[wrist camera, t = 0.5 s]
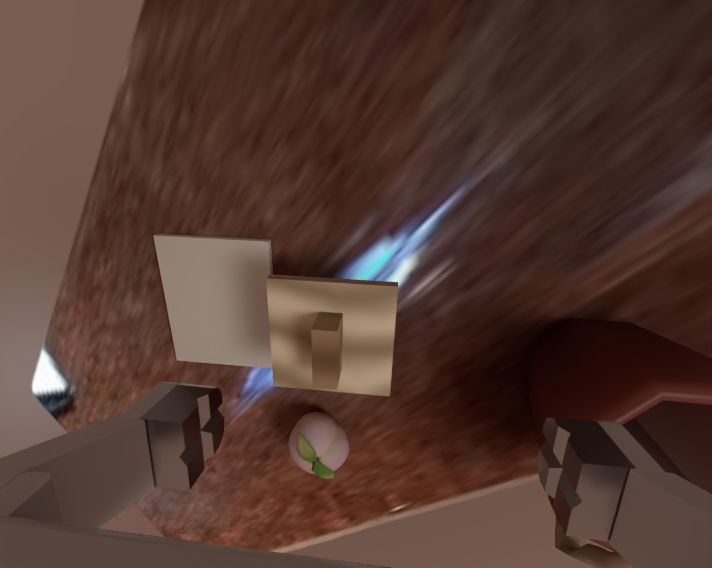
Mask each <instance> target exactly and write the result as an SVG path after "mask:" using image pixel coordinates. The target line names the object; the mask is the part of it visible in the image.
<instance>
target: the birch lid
mask: <svg viewBox="0 0 712 568" xmlns="http://www.w3.org/2000/svg"><path fill="white" fill-rule="evenodd" d="M266 285H267V299H268V313H269V327H270V341H271V355H272V369H273V383H274V386H279V387H290V388H302V389H313V390H324V391H335V392H347V393H358V394H369V395H380V396H390V387H391V373H392V360H393V347H394V334H395V321H396V308H397V295H398V282H383V281H367V280H351V279H335V278H319V277H304V276H288V275H272V274H269V276H268V277H267V278H266Z"/></svg>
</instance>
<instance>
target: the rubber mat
mask: <svg viewBox="0 0 712 568" xmlns="http://www.w3.org/2000/svg"><path fill="white" fill-rule="evenodd" d="M153 237H154V242H155V247H156V253H157V258H158V263H159V268H160V274H161V279H162V284H163V290H164V295H165V300H166V305H167V311H168V316H169V321H170V327H171V332H172V337H173V342H174V348H175V353H176V358H177V360H179V361H191V362H203V363H215V364H226V365H238V366H250V367H262V368H272V355H271V341H270V327H269V313H268V299H267V285H266V278H267V277H268V276H269V274H272V275H273V266H272V250H271V240H267V239H249V238H230V237H212V236H193V235H175V234H155V235H153Z"/></svg>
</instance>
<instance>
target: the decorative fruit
mask: <svg viewBox="0 0 712 568" xmlns="http://www.w3.org/2000/svg"><path fill="white" fill-rule="evenodd" d="M289 451H290V454H291V457H292V459H293V460H294V462H295V463H296V464H297V465H298V466H299V467H300V468H301V469H303V470H304V471H306V472H308V473H311V474H316V475H318V476H319V477H321V478H334V477H335V474H334V473H333V471H335V470H336V469H338V468H339V467H340V466H341V465H342V464H343V463H344V461H345V460H346V458H347V456H348V453H349V442H348V439H347V436H346V434H345V432H344V430H343V428H342V427H341V426H340V424H338V423H337V422H336V421H334V419H333V418H332V417H331V416H330V415H328V414H326V413H322V412H311V413H308V414H306V415H304V416H303V417H302V418H301V419H300V420H299V421H298V422H297V424H296V425H295V427H294V429H293V430H292V432H291V435H290V438H289Z"/></svg>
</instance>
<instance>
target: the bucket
mask: <svg viewBox="0 0 712 568" xmlns="http://www.w3.org/2000/svg"><path fill="white" fill-rule="evenodd" d="M527 361H528V397H529V402H530V407H531V412H532V417H533V422H534V427H535V432H536V437H537V442H538V447H539V448H540V447H541V446H542V445H543V444H544V443H546V442H547V440H546V438H545V436H544V434H543V433H542V431H543V426H544V422H545V421H546V419H547V417H550V418H564V419H579V420H599V421H615V422H617V423H619V424H621V425H622V426H623V427H624V428H625V429H626V430H627V431H628V432H629V433H630V434H631V435H632V437H633V438H634V439H635V440H636V441H637V442H638V443H639V444H640V445H641V446H642V447H643V448H644V450H645V451H646V452H647V453H648V454H649V455H650V456H651V457H652V458H653V459H654V460H655V461H656V462H657V464H658V465H659V466H660V467H661V468H662V469H663V470H664V471H665V472H667V473H674V474H676V475H678V476H680V477H681V478H683V479H685V480H687V481H689V482H690V483H692V484H694V485H696V486H698V487H700V488H701V489H703V490H705V491H707V492H709V493H710V494H712V359H711V358H709V357H707V356H704V355H702V354H700V353H698V352H696V351H693V350H691V349H689V348H687V347H684V346H682V345H680V344H678V343H675V342H673V341H671V340H669V339H666V338H664V337H662V336H660V335H657V334H655V333H653V332H651V331H649V330H646V329H644V328H642V327H640V326H637V325H635V324H633V323H626V322H613V321H600V320H587V319H575V318H572V319H571V320H570V321H569V322H567V323H566V324H565V325H563V326H562V327H561V328H559V329H558V330H557V331H555V332H554V333H553V334H551V335H550V336H549V337H547V338H546V339H545V340H543V341H542V342H541V343H539V344H538V345H537V346H535V347H534V348H533V349H531V350H530V351H529V352H527ZM548 498H549V501H550V503H551V506H552V508H553V504H554V500H555V499H554V498H552V497H551V496H550V495H549V494H548ZM554 513H555V512H554ZM555 515H556V514H555ZM555 529H556V530H555V547H556V548H558V549H559V550H561V551H563V552H564V553H566V554H568V555H569V556H571V557H574V558H576V559H578V560H580V561H582V562H584V563H586V564H589V565H591V566H594V567H596V568H634V567H633V566H632V565H631V564H630V563H629V562H628V561H627V560H626V559H625V558H624V557H623V556H622V555H620V554H619V553H618V552H617V551H616V550H615V549H614V548H613V547H612V546H611V545H610V544H609V543H610V542H607V541H600V540H593V539H589V540H591V541H594V542H596V543H598V544H600V545H602V546H604V547H606V548H608V549H610V550H612V551H614V552H609V551H607V550H605V549H603V548H601V547H599V546H595V545H591V544H586V545H585V539H586V538H580V537H573V536H566V535H565V533H564V531H563V528H562V526H561V524H560V522H559V520H558V518H557V516H556V528H555Z"/></svg>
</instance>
